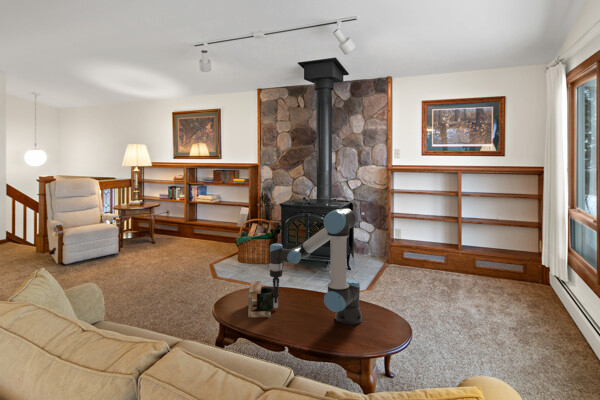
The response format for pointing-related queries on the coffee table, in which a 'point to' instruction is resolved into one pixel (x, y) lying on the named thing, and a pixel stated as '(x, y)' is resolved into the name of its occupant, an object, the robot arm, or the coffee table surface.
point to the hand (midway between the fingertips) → (275, 307)
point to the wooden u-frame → (255, 289)
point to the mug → (265, 299)
